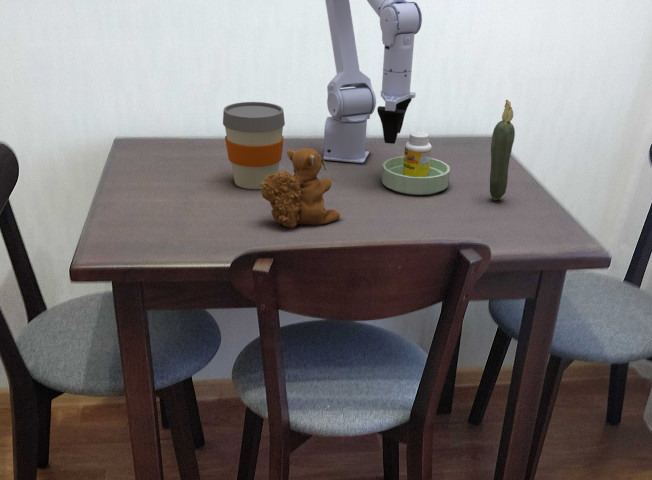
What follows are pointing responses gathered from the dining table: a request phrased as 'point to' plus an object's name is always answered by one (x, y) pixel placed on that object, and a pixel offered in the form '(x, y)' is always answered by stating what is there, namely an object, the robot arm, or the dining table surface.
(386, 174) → the bowl
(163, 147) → the dining table surface
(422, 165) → the supplement bottle
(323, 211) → the stuffed squirrel
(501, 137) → the vegetable
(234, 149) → the reusable coffee cup
